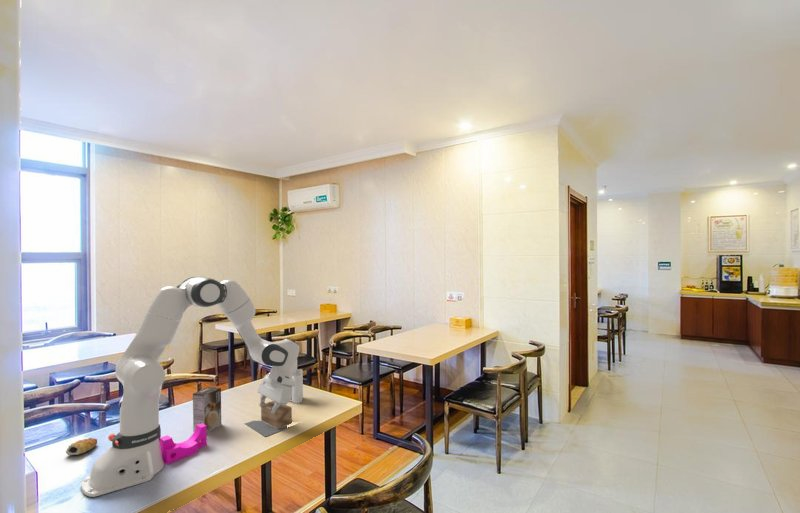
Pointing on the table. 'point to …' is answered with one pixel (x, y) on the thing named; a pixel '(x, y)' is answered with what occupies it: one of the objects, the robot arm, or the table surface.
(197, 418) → the coffee box
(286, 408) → the wooden brick
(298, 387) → the three-tube pen holder
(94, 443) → the pastry
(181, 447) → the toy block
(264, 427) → the mat
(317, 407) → the table surface
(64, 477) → the table surface
